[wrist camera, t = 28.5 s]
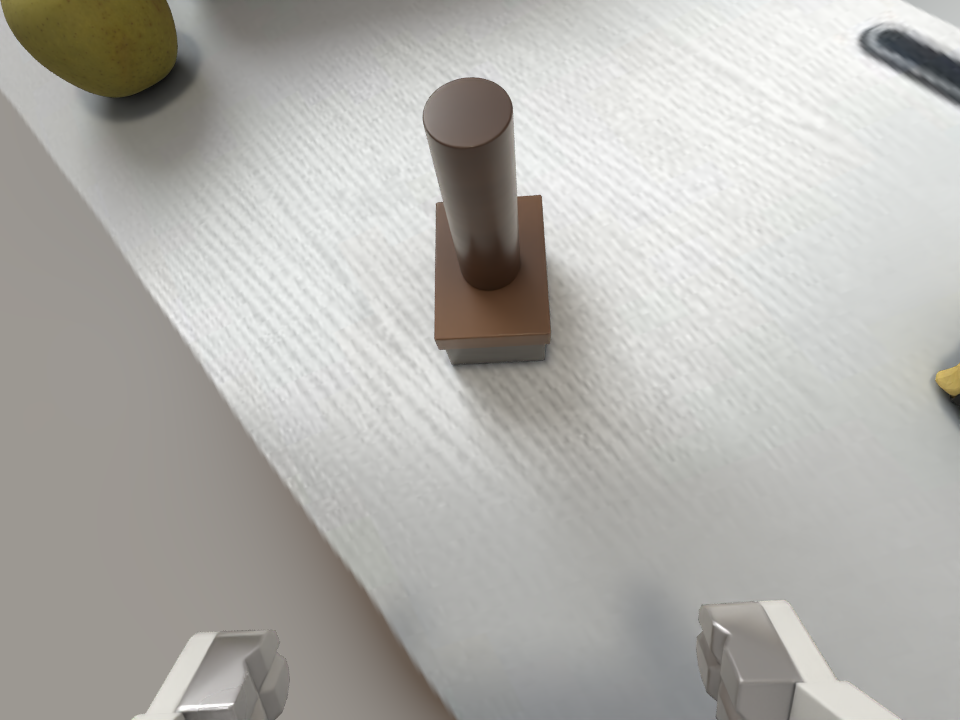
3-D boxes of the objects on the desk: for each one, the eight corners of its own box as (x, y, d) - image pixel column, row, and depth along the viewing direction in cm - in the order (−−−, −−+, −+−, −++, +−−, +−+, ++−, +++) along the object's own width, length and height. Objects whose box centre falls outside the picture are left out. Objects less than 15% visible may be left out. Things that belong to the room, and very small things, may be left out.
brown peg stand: (549, 364, 26) (559, 205, 14) (447, 369, 26) (379, 218, 15) (540, 239, 28) (544, 16, 17) (447, 245, 29) (389, 32, 17)
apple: (67, 68, 36) (-40, -45, 29) (179, 13, 37) (100, -109, 30) (99, 144, 33) (-10, 40, 27) (219, 83, 34) (142, -34, 28)
